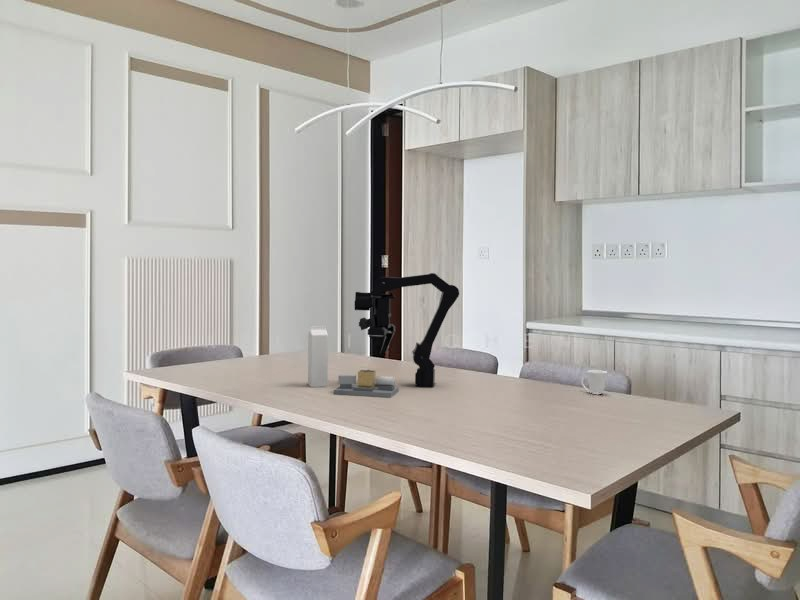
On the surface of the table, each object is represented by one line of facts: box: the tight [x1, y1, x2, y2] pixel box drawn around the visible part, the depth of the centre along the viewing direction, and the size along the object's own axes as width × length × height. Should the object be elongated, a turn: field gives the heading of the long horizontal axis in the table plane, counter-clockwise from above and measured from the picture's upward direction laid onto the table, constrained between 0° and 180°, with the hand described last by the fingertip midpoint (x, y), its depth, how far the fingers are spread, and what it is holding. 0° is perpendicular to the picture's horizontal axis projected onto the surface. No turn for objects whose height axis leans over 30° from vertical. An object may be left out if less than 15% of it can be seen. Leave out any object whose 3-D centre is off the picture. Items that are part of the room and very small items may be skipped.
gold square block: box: [357, 369, 377, 389], centre depth 222 cm, size 5×5×6 cm
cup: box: [580, 369, 609, 395], centre depth 228 cm, size 7×10×8 cm
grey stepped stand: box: [333, 374, 400, 399], centre depth 222 cm, size 20×12×6 cm, turn 77°
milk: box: [307, 325, 329, 388], centre depth 234 cm, size 6×6×22 cm
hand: (381, 352), depth 237 cm, fingers open, 9 cm apart
